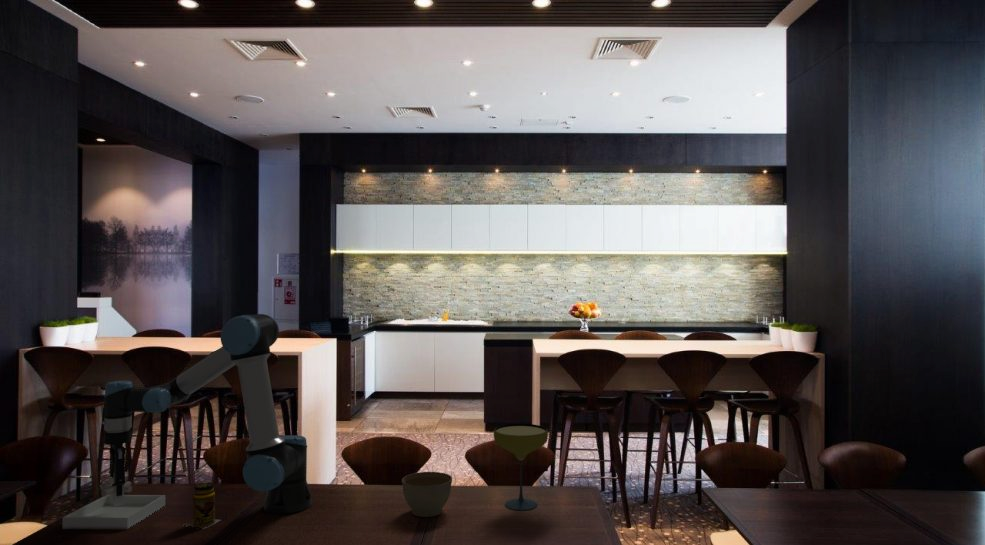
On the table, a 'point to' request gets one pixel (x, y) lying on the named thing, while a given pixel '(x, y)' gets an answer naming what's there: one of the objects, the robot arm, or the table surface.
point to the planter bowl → (427, 492)
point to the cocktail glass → (520, 452)
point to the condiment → (204, 505)
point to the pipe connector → (110, 489)
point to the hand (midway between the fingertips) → (116, 501)
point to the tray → (113, 512)
